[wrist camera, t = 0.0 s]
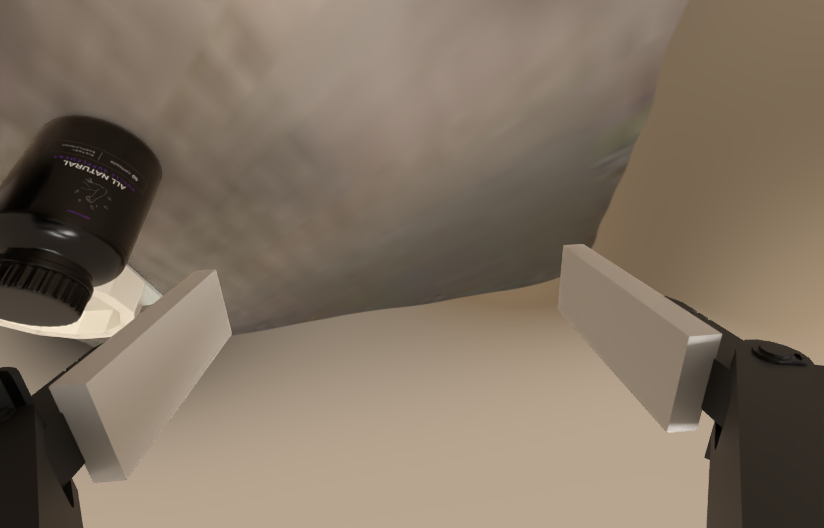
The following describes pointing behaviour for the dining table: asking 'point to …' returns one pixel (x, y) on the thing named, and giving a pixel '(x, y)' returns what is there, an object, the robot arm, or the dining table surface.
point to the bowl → (99, 310)
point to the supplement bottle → (71, 217)
